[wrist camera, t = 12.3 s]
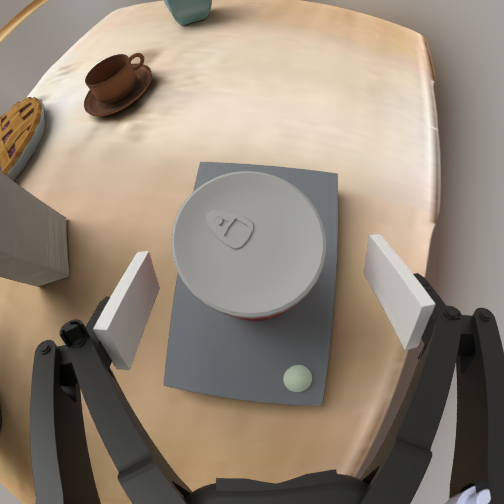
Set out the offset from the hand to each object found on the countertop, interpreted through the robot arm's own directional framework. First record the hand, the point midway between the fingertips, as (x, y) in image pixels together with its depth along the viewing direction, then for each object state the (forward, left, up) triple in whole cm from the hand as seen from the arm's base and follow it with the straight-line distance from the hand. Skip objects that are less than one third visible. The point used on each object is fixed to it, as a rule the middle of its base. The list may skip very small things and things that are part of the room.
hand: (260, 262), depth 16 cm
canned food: (-1, +1, -8) cm, 8 cm away
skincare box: (-27, +1, -11) cm, 29 cm away
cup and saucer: (-25, +27, -12) cm, 39 cm away
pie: (-50, +19, -12) cm, 54 cm away
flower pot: (-20, +52, -11) cm, 56 cm away
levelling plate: (-1, +1, -11) cm, 11 cm away
